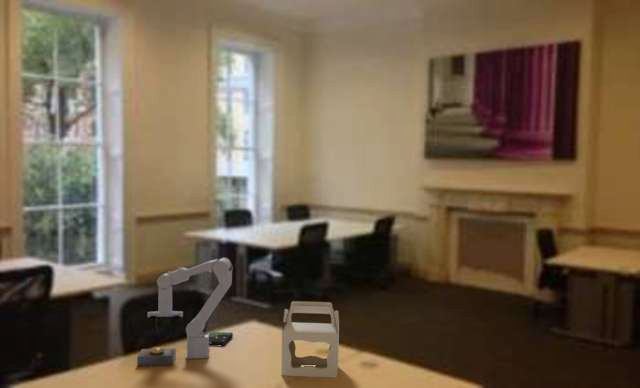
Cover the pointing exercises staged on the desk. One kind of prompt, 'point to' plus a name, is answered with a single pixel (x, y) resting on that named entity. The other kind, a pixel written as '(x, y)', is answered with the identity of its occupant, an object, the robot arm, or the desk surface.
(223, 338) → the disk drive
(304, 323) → the gable box
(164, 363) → the block
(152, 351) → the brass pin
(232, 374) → the desk surface
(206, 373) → the desk surface
